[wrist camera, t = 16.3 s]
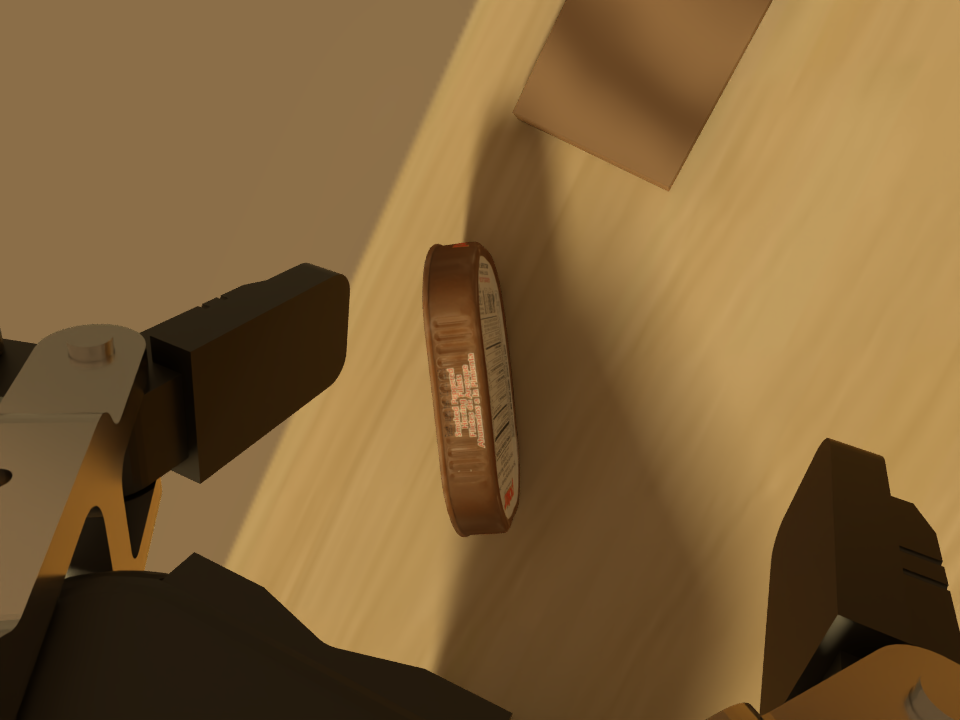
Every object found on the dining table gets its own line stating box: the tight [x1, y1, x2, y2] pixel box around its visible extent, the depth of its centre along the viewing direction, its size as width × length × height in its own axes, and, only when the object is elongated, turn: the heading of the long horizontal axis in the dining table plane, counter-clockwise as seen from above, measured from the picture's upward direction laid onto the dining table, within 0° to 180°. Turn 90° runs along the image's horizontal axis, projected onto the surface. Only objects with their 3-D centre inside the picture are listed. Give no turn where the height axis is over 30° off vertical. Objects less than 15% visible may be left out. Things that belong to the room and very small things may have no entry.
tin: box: [422, 242, 520, 537], centre depth 35 cm, size 15×3×8 cm, turn 8°
